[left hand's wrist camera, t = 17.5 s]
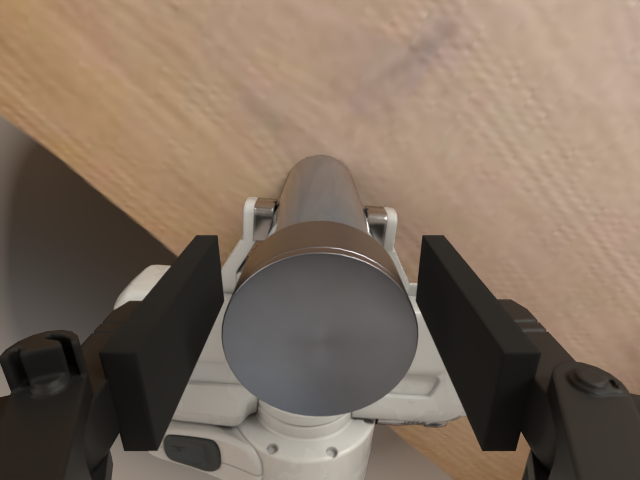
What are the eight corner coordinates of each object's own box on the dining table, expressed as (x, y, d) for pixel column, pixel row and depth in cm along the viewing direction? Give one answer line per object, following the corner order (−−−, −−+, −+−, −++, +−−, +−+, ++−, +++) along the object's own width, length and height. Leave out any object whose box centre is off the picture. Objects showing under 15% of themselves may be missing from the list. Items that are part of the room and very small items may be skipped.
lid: (310, 184, 11) (307, 209, 9) (434, 288, 12) (460, 333, 10) (207, 303, 12) (182, 351, 10) (327, 385, 14) (329, 444, 12)
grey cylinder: (356, 219, 26) (402, 387, 11) (289, 225, 26) (252, 397, 12) (352, 151, 24) (400, 248, 10) (281, 158, 24) (225, 262, 10)
